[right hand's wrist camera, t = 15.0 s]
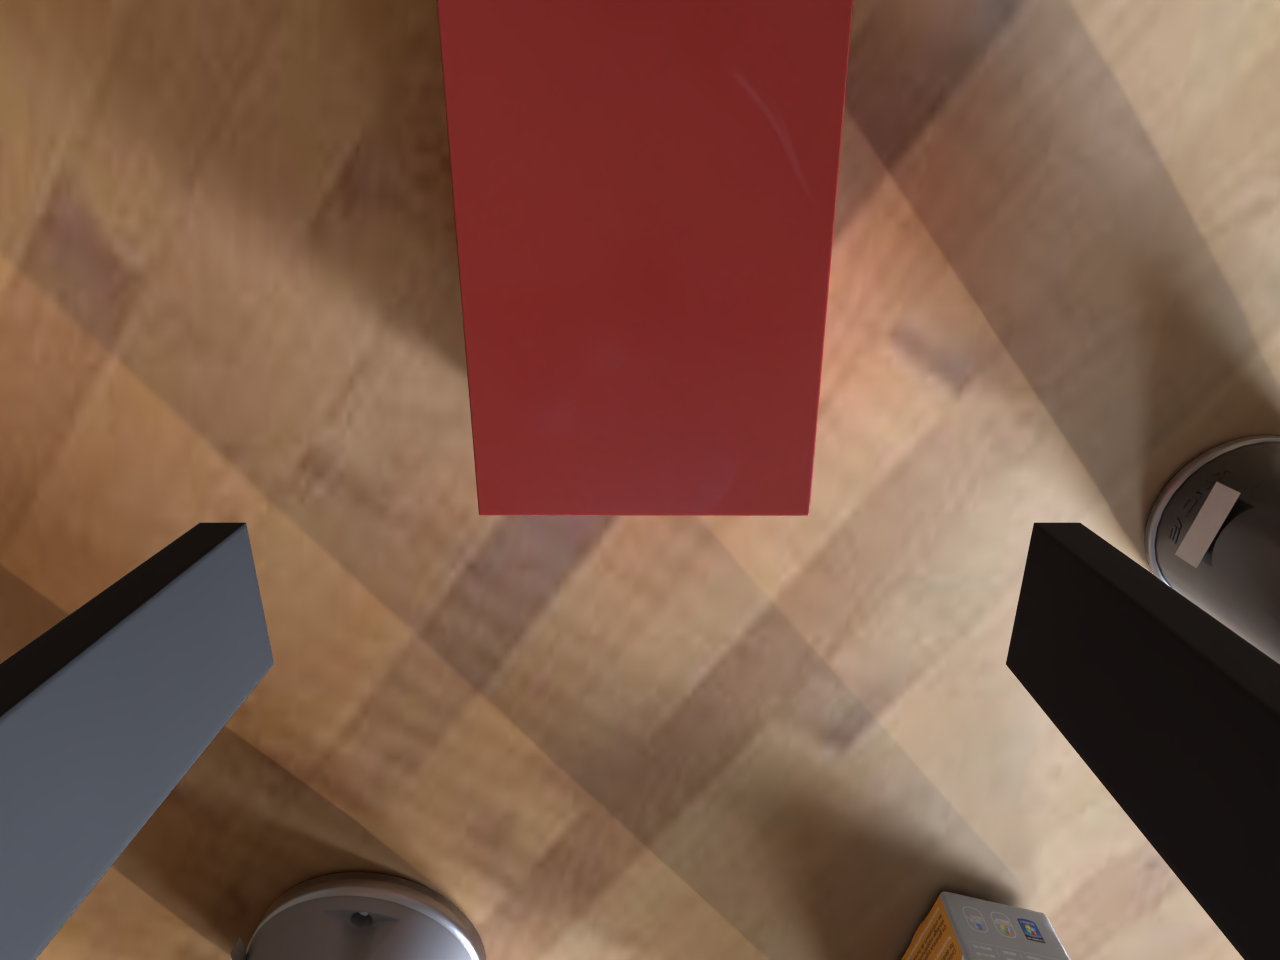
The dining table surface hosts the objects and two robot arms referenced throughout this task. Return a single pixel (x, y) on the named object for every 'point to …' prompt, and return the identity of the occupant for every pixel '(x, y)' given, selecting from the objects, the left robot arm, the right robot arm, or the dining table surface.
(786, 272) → the cabinet
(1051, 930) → the hard drive box
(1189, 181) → the dining table surface
